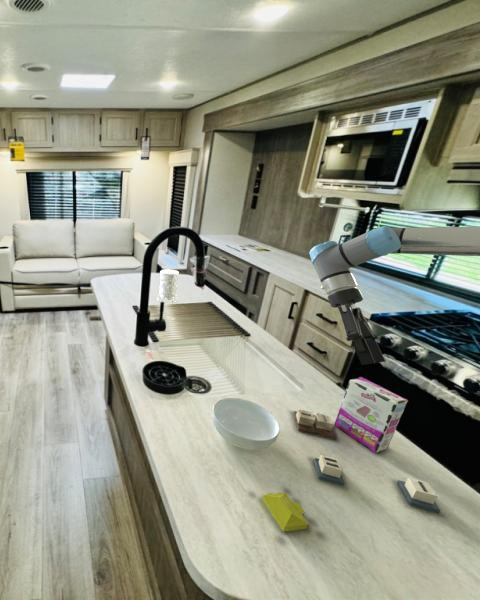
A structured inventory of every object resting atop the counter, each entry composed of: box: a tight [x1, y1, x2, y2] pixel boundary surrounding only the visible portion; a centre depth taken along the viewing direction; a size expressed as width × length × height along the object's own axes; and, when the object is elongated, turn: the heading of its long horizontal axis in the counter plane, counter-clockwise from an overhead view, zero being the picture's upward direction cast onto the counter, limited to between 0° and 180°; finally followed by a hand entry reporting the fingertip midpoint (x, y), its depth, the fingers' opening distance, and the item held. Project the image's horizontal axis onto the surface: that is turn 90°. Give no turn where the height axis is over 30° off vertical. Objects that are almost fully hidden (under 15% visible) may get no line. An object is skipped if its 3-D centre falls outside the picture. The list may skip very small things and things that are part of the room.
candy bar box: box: [333, 376, 409, 454], centre depth 86 cm, size 11×5×16 cm, turn 17°
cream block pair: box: [292, 408, 337, 441], centre depth 92 cm, size 9×8×4 cm
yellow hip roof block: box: [257, 491, 322, 540], centre depth 69 cm, size 10×9×3 cm
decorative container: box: [157, 268, 180, 304], centre depth 189 cm, size 12×12×18 cm
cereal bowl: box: [211, 397, 281, 451], centre depth 89 cm, size 17×17×7 cm
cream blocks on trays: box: [312, 454, 441, 514], centre depth 75 cm, size 22×6×4 cm, turn 66°
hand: (374, 363), depth 85 cm, fingers open, 13 cm apart
